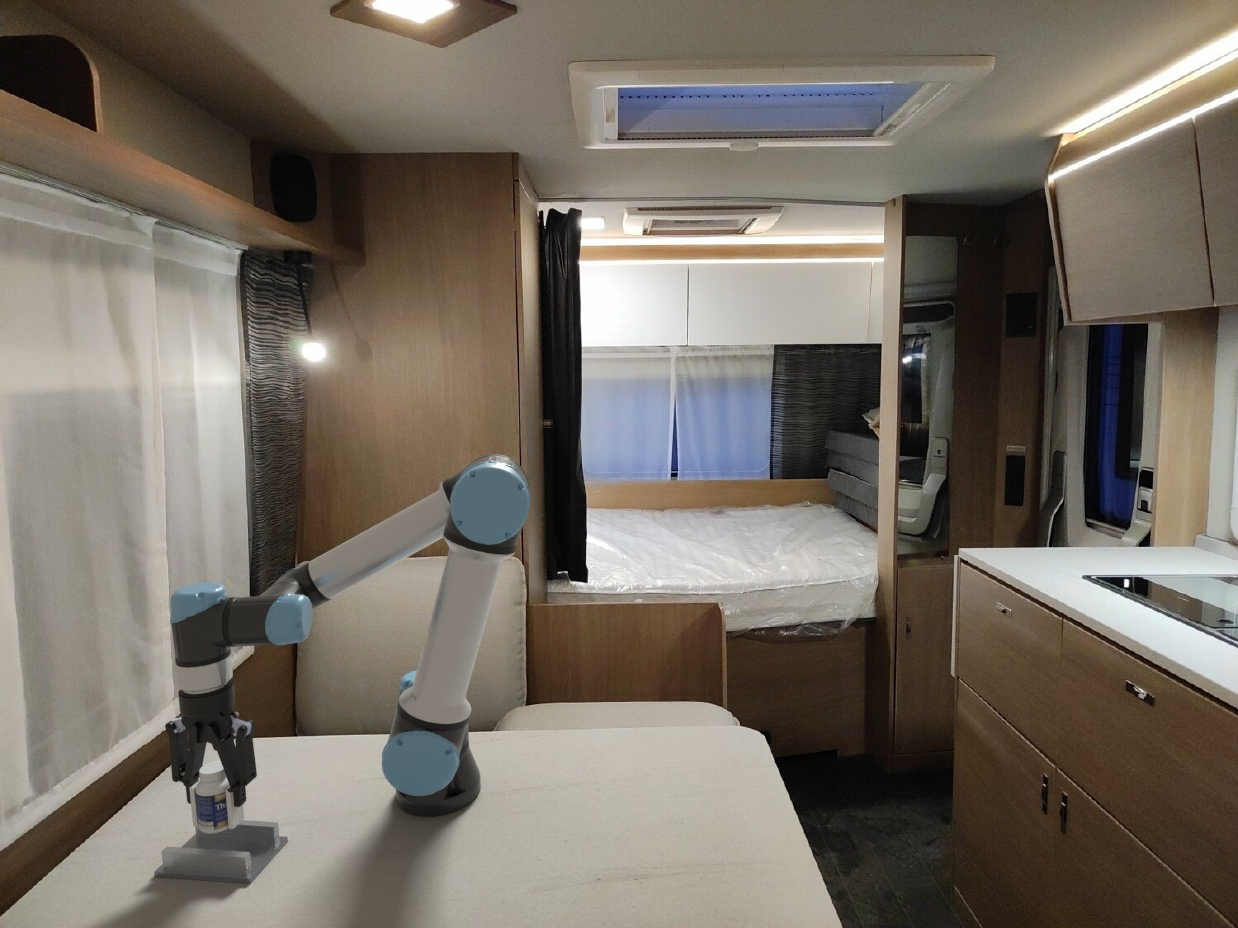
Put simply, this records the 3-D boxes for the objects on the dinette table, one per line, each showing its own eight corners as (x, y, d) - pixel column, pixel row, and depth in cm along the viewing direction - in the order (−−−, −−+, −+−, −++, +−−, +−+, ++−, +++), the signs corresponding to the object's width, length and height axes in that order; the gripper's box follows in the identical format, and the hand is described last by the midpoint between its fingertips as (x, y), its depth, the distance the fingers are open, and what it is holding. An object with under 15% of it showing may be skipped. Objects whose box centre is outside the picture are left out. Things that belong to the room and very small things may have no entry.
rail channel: (287, 841, 120) (286, 819, 120) (250, 883, 110) (248, 860, 110) (199, 835, 122) (197, 814, 122) (154, 876, 112) (152, 853, 112)
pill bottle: (221, 836, 112) (215, 778, 111) (191, 832, 113) (185, 774, 112) (245, 815, 118) (240, 759, 116) (216, 811, 119) (211, 756, 117)
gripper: (275, 676, 115) (286, 811, 118) (169, 671, 117) (182, 804, 120) (246, 697, 108) (258, 841, 111) (133, 691, 110) (148, 833, 113)
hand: (218, 821), depth 115 cm, fingers closed on pill bottle, 5 cm apart
